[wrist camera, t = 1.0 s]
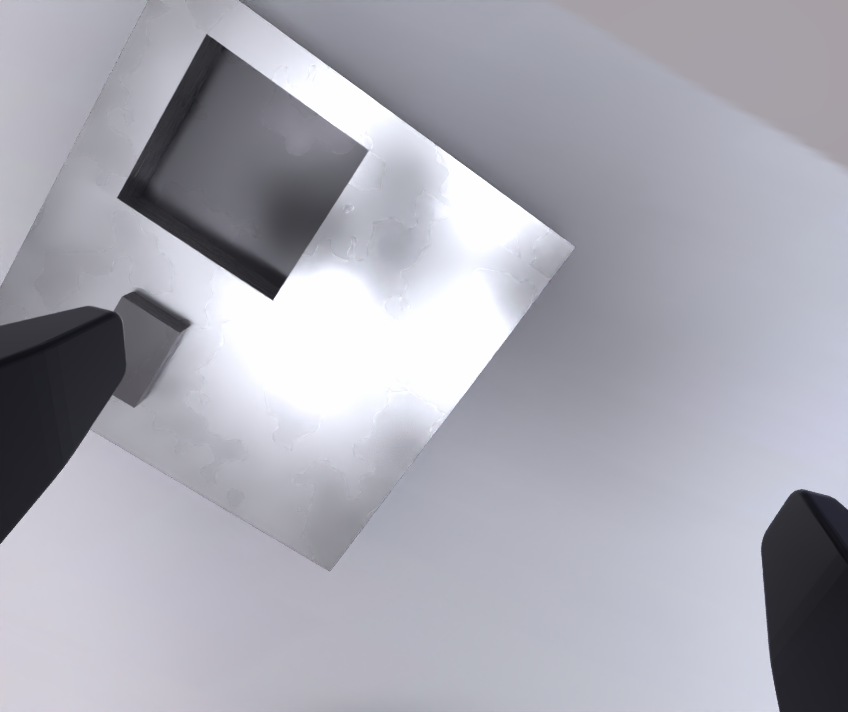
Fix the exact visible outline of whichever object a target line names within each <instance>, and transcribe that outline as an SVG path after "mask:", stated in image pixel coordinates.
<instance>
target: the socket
mask: <svg viewBox="0 0 848 712" xmlns="http://www.w3.org/2000/svg"><path fill="white" fill-rule="evenodd" d="M574 248H575V246H573V245H572V244H571V243H569V242H568V241H566V240H565V239H564V238H562V237H561V236H560V235H558V234H557V233H556V232H554V231H553V230H551V229H550V228H549V227H547V226H546V225H545V224H543V223H542V222H541V221H539V220H538V219H536V218H535V217H534V216H532V215H531V214H530V213H528V212H527V211H526V210H524V209H523V208H521V207H520V206H519V205H517V204H516V203H515V202H513V201H512V200H511V199H509V198H508V197H506V196H505V195H504V194H502V193H501V192H500V191H498V190H497V189H496V188H494V187H493V186H491V185H490V184H489V183H487V182H486V181H485V180H483V179H482V178H481V177H479V176H478V175H476V174H475V173H474V172H472V171H471V170H470V169H468V168H467V167H465V166H464V165H463V164H461V163H460V162H459V161H457V160H456V159H455V158H453V157H452V156H450V155H449V154H448V153H446V152H445V151H444V150H442V149H441V148H440V147H438V146H437V145H435V144H434V143H433V142H431V141H430V140H429V139H427V138H426V137H425V136H423V135H422V134H420V133H419V132H418V131H416V130H415V129H414V128H412V127H411V126H410V125H408V124H407V123H405V122H404V121H403V120H401V119H400V118H399V117H397V116H396V115H395V114H393V113H392V112H390V111H389V110H388V109H386V108H385V107H384V106H382V105H381V104H379V103H378V102H377V101H375V100H374V99H373V98H371V97H370V96H369V95H367V94H366V93H364V92H363V91H362V90H360V89H359V88H358V87H356V86H355V85H354V84H352V83H351V82H349V81H348V80H347V79H345V78H344V77H343V76H341V75H340V74H339V73H337V72H336V71H334V70H333V69H332V68H330V67H329V66H328V65H326V64H325V63H324V62H322V61H321V60H319V59H318V58H317V57H315V56H314V55H313V54H311V53H310V52H309V51H307V50H306V49H304V48H303V47H302V46H300V45H299V44H298V43H296V42H295V41H294V40H292V39H291V38H289V37H288V36H287V35H285V34H284V33H283V32H281V31H280V30H278V29H277V28H276V27H274V26H273V25H272V24H270V23H269V22H268V21H266V20H265V19H263V18H262V17H261V16H259V15H258V14H257V13H255V12H254V11H253V10H251V9H250V8H248V7H247V6H246V5H244V4H243V3H242V2H240V1H239V0H149V1H148V2H147V4H146V6H145V8H144V10H143V12H142V14H141V16H140V18H139V20H138V22H137V24H136V26H135V28H134V30H133V32H132V33H131V35H130V37H129V39H128V41H127V43H126V45H125V47H124V49H123V51H122V53H121V55H120V57H119V59H118V61H117V62H116V64H115V66H114V68H113V70H112V72H111V74H110V76H109V78H108V80H107V82H106V84H105V86H104V88H103V90H102V92H101V93H100V95H99V97H98V99H97V101H96V103H95V105H94V107H93V109H92V111H91V113H90V115H89V117H88V119H87V121H86V123H85V124H84V126H83V128H82V130H81V132H80V134H79V136H78V138H77V140H76V142H75V144H74V146H73V148H72V150H71V152H70V153H69V155H68V157H67V159H66V161H65V163H64V165H63V167H62V169H61V171H60V173H59V175H58V177H57V179H56V181H55V183H54V184H53V186H52V188H51V190H50V192H49V194H48V196H47V198H46V200H45V202H44V204H43V206H42V208H41V210H40V212H39V213H38V215H37V217H36V219H35V221H34V223H33V225H32V227H31V229H30V231H29V233H28V235H27V237H26V239H25V241H24V243H23V244H22V246H21V248H20V250H19V252H18V254H17V256H16V258H15V260H14V262H13V264H12V266H11V268H10V270H9V272H8V273H7V275H6V277H5V279H4V281H3V283H2V285H1V287H0V325H4V324H9V323H13V322H17V321H22V320H26V319H31V318H35V317H39V316H44V315H48V314H52V313H57V312H61V311H65V310H70V309H74V308H79V307H83V306H95V307H99V308H103V309H106V310H110V311H114V312H116V313H118V314H119V315H120V316H121V318H122V320H123V326H124V337H125V348H126V359H127V366H126V372H125V375H124V377H123V380H122V381H121V383H120V385H119V386H118V388H117V389H116V391H115V392H114V394H113V395H112V397H111V398H110V400H109V401H108V403H107V404H106V406H105V407H104V409H103V410H102V412H101V413H100V415H99V416H98V418H97V419H96V421H95V422H94V424H93V425H92V427H91V428H90V430H92V431H94V432H95V433H97V434H99V435H100V436H102V437H104V438H105V439H107V440H109V441H110V442H112V443H114V444H115V445H117V446H119V447H120V448H122V449H124V450H126V451H127V452H129V453H131V454H132V455H134V456H136V457H137V458H139V459H141V460H142V461H144V462H146V463H147V464H149V465H151V466H153V467H154V468H156V469H158V470H159V471H161V472H163V473H164V474H166V475H168V476H169V477H171V478H173V479H174V480H176V481H178V482H180V483H181V484H183V485H185V486H186V487H188V488H190V489H191V490H193V491H195V492H196V493H198V494H200V495H201V496H203V497H205V498H207V499H208V500H210V501H212V502H213V503H215V504H217V505H218V506H220V507H222V508H223V509H225V510H227V511H228V512H230V513H232V514H233V515H235V516H237V517H239V518H240V519H242V520H244V521H245V522H247V523H249V524H250V525H252V526H254V527H255V528H257V529H259V530H260V531H262V532H264V533H266V534H267V535H269V536H271V537H272V538H274V539H276V540H277V541H279V542H281V543H282V544H284V545H286V546H287V547H289V548H291V549H293V550H294V551H296V552H298V553H299V554H301V555H303V556H304V557H306V558H308V559H309V560H311V561H313V562H314V563H316V564H318V565H320V566H321V567H323V568H325V569H326V570H328V571H331V570H332V568H333V567H334V566H335V564H336V563H337V562H338V560H339V559H340V558H341V556H342V555H343V554H344V552H345V551H346V550H347V548H348V547H349V546H350V544H351V543H352V542H353V540H354V539H355V538H356V536H357V535H358V534H359V533H360V531H361V530H362V529H363V527H364V526H365V525H366V523H367V522H368V521H369V519H370V518H371V517H372V515H373V514H374V513H375V511H376V510H377V509H378V507H379V506H380V505H381V503H382V502H383V501H384V499H385V498H386V497H387V496H388V494H389V493H390V492H391V490H392V489H393V488H394V486H395V485H396V484H397V482H398V481H399V480H400V478H401V477H402V476H403V474H404V473H405V472H406V470H407V469H408V468H409V466H410V465H411V464H412V463H413V461H414V460H415V459H416V457H417V456H418V455H419V453H420V452H421V451H422V449H423V448H424V447H425V445H426V444H427V443H428V441H429V440H430V439H431V437H432V436H433V435H434V433H435V432H436V431H437V429H438V428H439V427H440V426H441V424H442V423H443V422H444V420H445V419H446V418H447V416H448V415H449V414H450V412H451V411H452V410H453V408H454V407H455V406H456V404H457V403H458V402H459V400H460V399H461V398H462V396H463V395H464V394H465V392H466V391H467V390H468V389H469V387H470V386H471V385H472V383H473V382H474V381H475V379H476V378H477V377H478V375H479V374H480V373H481V371H482V370H483V369H484V367H485V366H486V365H487V363H488V362H489V361H490V359H491V358H492V357H493V356H494V354H495V353H496V352H497V350H498V349H499V348H500V346H501V345H502V344H503V342H504V341H505V340H506V338H507V337H508V336H509V334H510V333H511V332H512V330H513V329H514V328H515V326H516V325H517V324H518V322H519V321H520V320H521V319H522V317H523V316H524V315H525V313H526V312H527V311H528V309H529V308H530V307H531V305H532V304H533V303H534V301H535V300H536V299H537V297H538V296H539V295H540V293H541V292H542V291H543V289H544V288H545V287H546V285H547V284H548V283H549V282H550V280H551V279H552V278H553V276H554V275H555V274H556V272H557V271H558V270H559V268H560V267H561V266H562V264H563V263H564V262H565V260H566V259H567V258H568V256H569V255H570V254H571V252H572V251H573V250H574Z"/></svg>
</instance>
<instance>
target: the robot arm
mask: <svg viewBox="0 0 848 712" xmlns="http://www.w3.org/2000/svg"><path fill="white" fill-rule="evenodd" d="M126 366H127V359H126V348H125V337H124V326H123V320H122V318H121V316H120V315H119V314H118V313H116V312H114V311H110V310H106V309H103V308H99V307H95V306H83V307H79V308H74V309H70V310H65V311H61V312H57V313H52V314H48V315H44V316H39V317H35V318H31V319H26V320H22V321H17V322H13V323H9V324H4V325H0V544H1V543H2V542H3V540H4V539H5V538H6V537H7V536H8V534H9V533H10V532H11V531H12V530H13V528H14V527H15V526H16V525H17V524H18V522H19V521H20V520H21V519H22V518H23V516H24V515H25V514H26V513H27V512H28V510H29V509H30V508H31V507H32V506H33V504H34V503H35V502H36V501H37V500H38V498H39V497H40V496H41V495H42V494H43V492H44V491H45V490H46V489H47V488H48V486H49V485H50V484H51V483H52V482H53V480H54V479H55V478H56V477H57V475H58V474H59V473H60V471H61V470H62V469H63V468H64V466H65V465H66V464H67V462H68V461H69V459H70V458H71V457H72V455H73V454H74V452H75V451H76V449H77V448H78V446H79V445H80V443H81V442H82V440H83V439H84V437H85V436H86V434H87V433H88V431H89V430H90V428H91V427H92V425H93V424H94V422H95V421H96V419H97V418H98V416H99V415H100V413H101V412H102V410H103V409H104V407H105V406H106V404H107V403H108V401H109V400H110V398H111V397H112V395H113V394H114V392H115V391H116V389H117V388H118V386H119V385H120V383H121V381H122V380H123V377H124V375H125V372H126ZM761 555H762V568H763V581H764V593H765V606H766V619H767V631H768V644H769V653H770V662H771V668H772V674H773V680H774V685H775V690H776V695H777V700H778V705H779V711H780V712H848V510H847V509H846V508H845V507H844V506H843V505H842V504H841V503H839V502H838V501H837V500H836V499H834V498H832V497H830V496H827V495H823V494H819V493H815V492H812V491H808V490H804V489H800V490H796V491H794V492H793V493H792V494H791V495H790V496H789V497H788V499H787V500H786V502H785V503H784V505H783V506H782V508H781V509H780V511H779V512H778V514H777V515H776V517H775V518H774V520H773V521H772V523H771V524H770V526H769V527H768V529H767V530H766V532H765V534H764V537H763V540H762V546H761Z"/></svg>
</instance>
